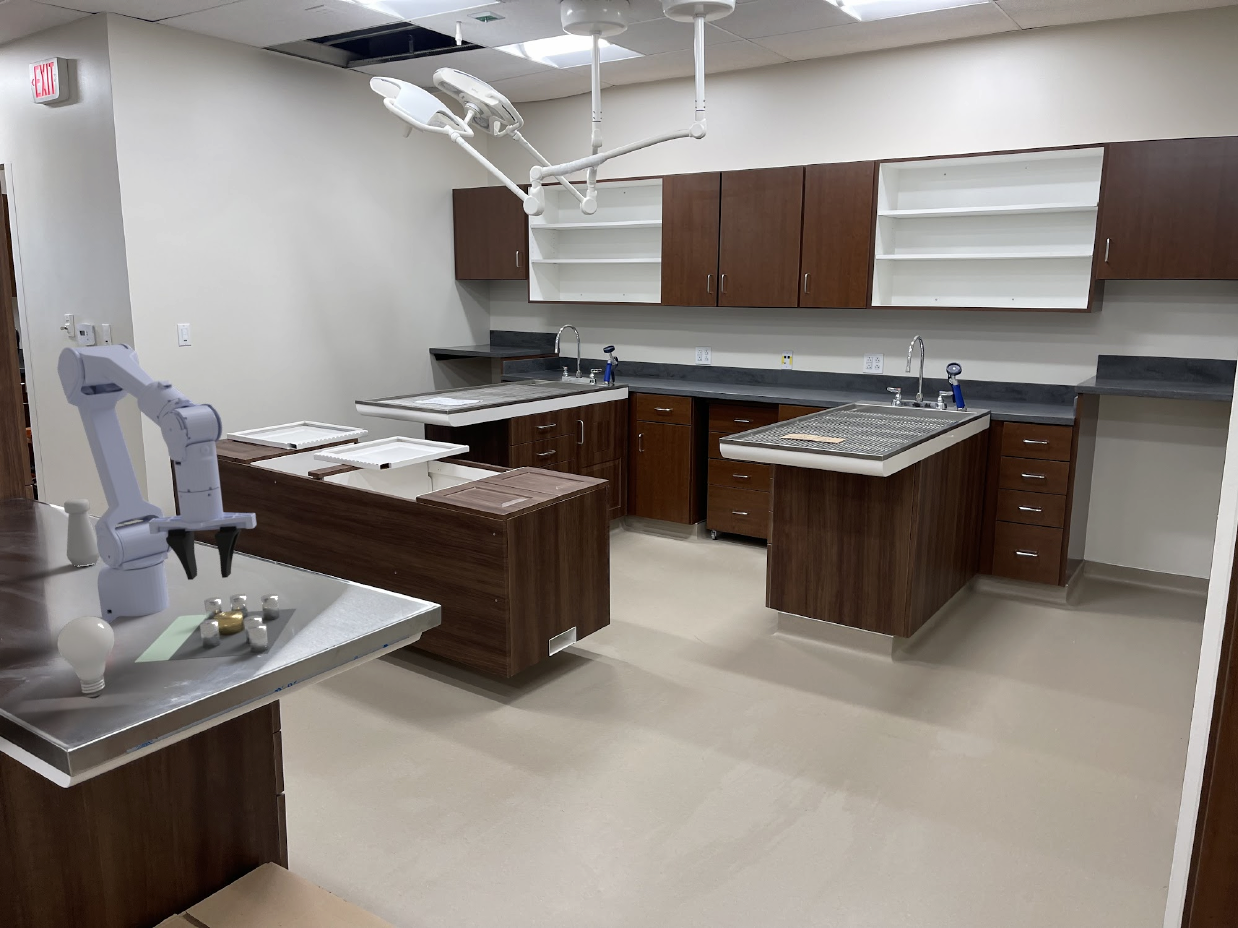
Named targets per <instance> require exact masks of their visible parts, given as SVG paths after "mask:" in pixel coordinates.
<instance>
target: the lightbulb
mask: <svg viewBox="0 0 1238 928" xmlns="http://www.w3.org/2000/svg"><path fill="white" fill-rule="evenodd" d="M115 638H116V637H115V632H114V630H113V628H112V626H111V625H110V624H108V623H107V622H106V621H104V620H103V619H102V617H101V618H100V617H97V616H92V615H85V616H79V617H77V618H74V619H73V620H71V621H70V622H68V623H67V624H66V625H64V627H63V628H62V629H60V632H59V634H58V637H57V650H58V652H59V654H60V657H62V659H64V661H66V662H67V663H68V664H69V665H70V666H71V667H72V668H73V669H74V672H75V674H76V676H77V677H78V678H79V681H80V687H81V693H83V694H90V695H83V697H84V698H88V699H98V698H99V697H100V696H101V694H94V695H93V693H96V692H100V691H103V690H104V689H105V686H106V684H105V674H104V673H105V671H106V664H107V660H108V658H109V656H110V654H111V653H112V651H113V648H114V644H115ZM91 694H92V695H91Z"/></svg>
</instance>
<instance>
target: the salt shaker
mask: <svg viewBox="0 0 1238 928" xmlns="http://www.w3.org/2000/svg"><path fill="white" fill-rule="evenodd" d="M90 507H91V506H90V501H89V500H88V499H87V498H73V499H68V500H67V501H65V502H64V504H63V508H64V509H63V510H64V513H66V514H68V517H67V521H68V522H67V540H66V541H67V543H66V557H67V560H69V562H70V563H71V564H72V565H75V566H78V565H79V566H80V565H87V564H92V563H96V562H97V561H99V558H100V555H99V552H98V548H97V535H96V531H95V528H94V527H93V525H92V522H91V519H90V516H89V514H88V513H89V512H88V511H89V510H90V509H91V508H90ZM97 563H98V562H97ZM97 563H96V564H97ZM75 566H74V567H75Z"/></svg>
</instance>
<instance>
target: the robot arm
mask: <svg viewBox="0 0 1238 928" xmlns="http://www.w3.org/2000/svg"><path fill="white" fill-rule="evenodd" d="M57 373H58V376H59V381H60V383H61V386H62V388H63V393H64V395H65V397H66V401H67V403H68V404H70V405H72V406H75V407H76V408H77V409H78V412H79V416H80V418H81V423H82V425H83V428H84V433H85V435H86V437H87V442H88V445H89V448H90V451H91V454H92V458H93V462H94V464H95V467H96V470H97V474H98V477H99V480H100V483H101V486H102V490H103V493H104V496H105V499H106V503H107V509H106V511H104V513H103V514H102V515H101V517H99V518H98V520H97V521H96V523H95V525H94V531H95V535H96V538H97V548H98V552H99V555H100V556H99V558H101V561H102V562H103V563H104V564H105V565H103V566H102V567H101V568H100V570H99V572H98V576H97V592H98V597H99V598H98V599H99V604H100V605H99V606H100V611H101V619H103V620H104V621H106V622H107V623H108V624H109V625H110V624H111V623H112V622H113V621H114V620H116V619H117V618H118V617H143V616H149V615H153V614H156V613H159V612H162V611H164V610H166V609H168V608H169V607H170V603H171V602H170V595H169V589H168V582H167V581H168V580H167V573H166V567H165V560H168V559H169V555H168V554H169V553H171V551H172V550H173V553H174V554H175V555H176V556H177V558H178V560H179V562H180V563H181V565H182V567H183V570H184V572H185V574H186V578H187V580H188V581H190V580H192V581H193V580H194V579H195V578H196V577H197V576H198V566H197V560H196V553H195V531H210V530H211V531H213V530H219V531H217V532H216V533H215V534H214V539H215V542H216V545H217V546H216V547H217V550H218V555H219V563H220V575H221V577H222V579H223V578H229V576H230V575H231V574H232V563H233V557H234V553H235V548H236V546H237V542H238V539H239V537H240V534H241V533H242V529H246V530H248V529H249V530H251V529H254V528H255V527H257V518H256V517H257V515H256V513H255V512H247V513H246V512H224V508H223V500H222V499H223V498H222V489H221V481H220V472H219V465H218V464H219V463H218V457H217V456H218V455H217V453H218V452H217V447H216V443H217V442H219V440H220V439H221V437H222V436H223V423H222V422H223V421H222V417H221V416H220V414H219V411H218V410H217V409H216V408H215V407H214V406H213V405H212V404H211V403H206V402H205V403H200V402H199V403H195V402H193V400H191V399H190V398H189V397H188V396H186V395H185V394H184V393H182V392H181V391H179V390H178V389H177V387H174V386H173V383H172V382H170V381H169V380H155V379H154V378H153V377H152V376H151V375H149V373H148V372H147V371H146V370H145V369H144V368H143V367H142V366H141V365H140V361H139V357H138V354H137V350H134V349H133V348H132V347H131V346H130V345H129V344H128V343H125V342H124V343H123V342H122V343H118V344H111V345H97V346H96V345H95V346H94V345H93V346H83V347H82V346H81V347H71V346H67V347H64V348H63V349H62V350H61V352H60V354H59V356H58V363H57ZM128 394H130V395H131V396H133V397H134V398H136V399H137V401H136V403H137V407H138V409H139V411H140V412H141V413H142V414H144V415H145V416H146V417H147V418H148V419H149V420H151V421H152V422H153V423H154V424H155V425H156V426H158V427H159V428H160V431H161V435H162V438H163V441H164V442H165V444H166V447H167V450H168V456H169V458H170V460H171V461H173V465H174V472H175V479H176V488H177V490H176V491H177V496H178V504H179V512H180V515H173V516H165V514H164V511H163V509H162V507H160V506H158V505H156V504H153V503H151V502H148V501H147V500H146V499H144V497H143V494H142V491H141V488H140V485H139V481H138V478H137V475H136V472H135V468H134V465H133V462H132V459H131V455H130V452H129V449H128V447H127V442H126V439H125V436H124V432H123V429H122V426H121V423H120V420H119V416H118V413H117V410H116V406H117V404H118V402H119V401H121V400H122V399H124V398H126V397H127V395H128ZM134 521H137V522H134ZM130 522H133V523H130ZM126 523H129V524H126ZM122 524H123V525H122ZM118 525H119V526H118Z"/></svg>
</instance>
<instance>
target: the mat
mask: <svg viewBox="0 0 1238 928" xmlns="http://www.w3.org/2000/svg"><path fill="white" fill-rule="evenodd" d="M296 610H297V608H284V609H282V608H281V609H279V614H280V617H279V618H278V619H275V620H264V619H263V610H258V611H257V610H254V611H252V610H251V611H248V617H249V616H256V615H257V616H261V617H262V624H266V629H267V638H268V647H269V649H268V650H267V651H264V652H261V653H252V652H251V650H250V644H248V643H247V642H246V633H245V624H244V630H243V631H241V632H239V633H237V634H233V635H226V636H221V635H220V643H221V644H220V645H219V646H217V647H215V648H208V649H207V648H203V646H202V637H201V629H200V623H201V622H203V621H206V613H205V614H191V615H179V616H178V617H177V618H176V619H175V620H174V621H173V622H172V623H171V624H170V625H169V626H168V627H166V629H165V630H164V631H163V632H162V633H161V634H160V636H158V637H157V639H155V640H154V642H152V644H151V645H150V646H149V647H148V648H147V649H146V650H145V651H144V652H142V654H141V655H139V657H137V659H136V660H135V661H134V662H133V663H134V664H135V663H147V662H149V663H150V662H160V661H161V662H162V661H163V662H164V661H176V660H177V661H179V660H191V659H205V658H207V659H209V658H223V657H236V656H248V655H249V656H250V655H265V654H269V652H270V651H271V649H272V648H273V646H274V645H275V643H276V641H277V640H278V638H279V637H280V636H281V633H283V630H284V629H285V628H286V626H287V624H288V623H289V621H290V619H291V618H292V616H293V615H294V613H295V612H296ZM243 622H244V619H243Z"/></svg>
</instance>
